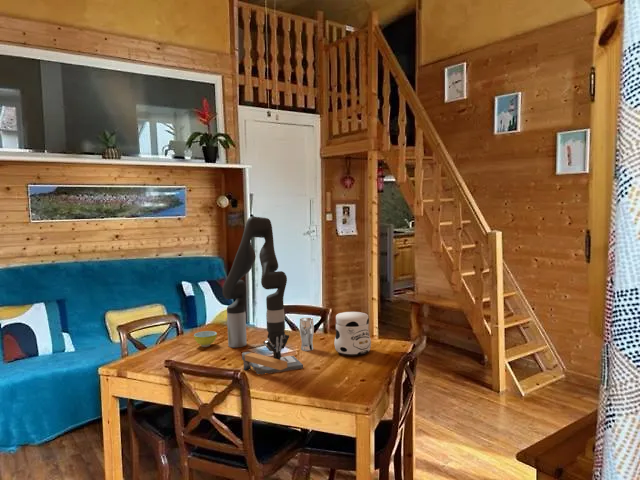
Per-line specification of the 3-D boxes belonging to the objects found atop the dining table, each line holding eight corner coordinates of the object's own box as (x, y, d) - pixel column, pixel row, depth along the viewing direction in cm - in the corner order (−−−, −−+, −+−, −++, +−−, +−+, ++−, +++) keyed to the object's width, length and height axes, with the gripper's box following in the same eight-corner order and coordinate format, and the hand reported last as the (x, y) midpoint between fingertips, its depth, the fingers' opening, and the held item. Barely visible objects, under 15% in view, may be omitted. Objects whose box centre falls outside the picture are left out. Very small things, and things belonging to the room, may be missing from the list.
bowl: (214, 348, 240) (214, 336, 240) (191, 349, 240) (191, 337, 240) (219, 342, 251) (219, 330, 251) (197, 342, 252) (197, 331, 251)
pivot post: (243, 368, 210) (242, 359, 210) (249, 367, 211) (249, 358, 211) (244, 370, 207) (244, 361, 207) (251, 369, 208) (251, 360, 208)
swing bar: (240, 359, 208) (240, 353, 208) (247, 356, 211) (247, 351, 211) (280, 370, 193) (280, 364, 193) (287, 367, 196) (287, 361, 196)
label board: (250, 364, 214) (250, 360, 214) (293, 358, 221) (293, 354, 221) (257, 374, 201) (257, 370, 201) (303, 368, 208) (303, 363, 208)
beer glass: (298, 348, 237) (297, 318, 236) (311, 346, 240) (310, 316, 239) (302, 352, 231) (301, 321, 230) (316, 350, 233) (315, 319, 232)
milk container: (366, 359, 218) (365, 320, 216) (329, 356, 223) (329, 318, 222) (374, 348, 234) (374, 312, 233) (340, 346, 240) (339, 310, 238)
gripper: (281, 314, 208) (282, 354, 209) (257, 321, 198) (259, 362, 200) (293, 317, 202) (294, 357, 204) (269, 324, 193) (271, 366, 194)
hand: (277, 359), depth 202 cm, fingers closed
